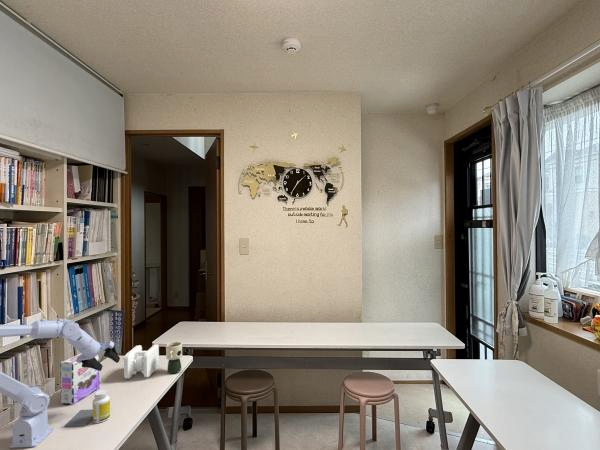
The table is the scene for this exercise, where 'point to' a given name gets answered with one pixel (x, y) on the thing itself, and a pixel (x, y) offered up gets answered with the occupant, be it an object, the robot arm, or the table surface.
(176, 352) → the character mug
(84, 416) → the mat
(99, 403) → the supplement bottle
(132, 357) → the cable organizer
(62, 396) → the candy box
